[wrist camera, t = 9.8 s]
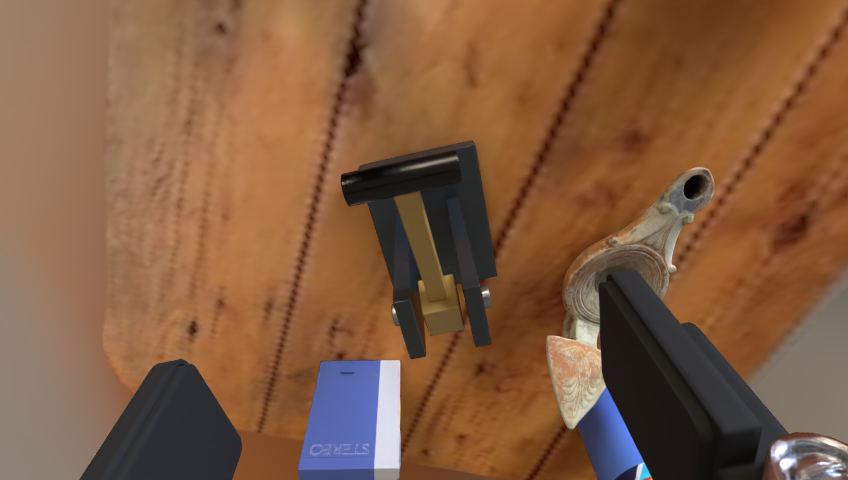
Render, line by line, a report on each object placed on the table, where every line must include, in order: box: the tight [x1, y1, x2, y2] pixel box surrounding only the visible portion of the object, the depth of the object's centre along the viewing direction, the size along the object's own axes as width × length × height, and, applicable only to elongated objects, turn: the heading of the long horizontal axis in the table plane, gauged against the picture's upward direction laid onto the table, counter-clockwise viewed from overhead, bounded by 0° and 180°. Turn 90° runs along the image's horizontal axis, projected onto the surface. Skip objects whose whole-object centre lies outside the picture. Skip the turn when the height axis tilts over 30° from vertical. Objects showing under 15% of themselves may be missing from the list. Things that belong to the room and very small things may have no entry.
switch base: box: [358, 140, 497, 359], centre depth 32 cm, size 12×9×13 cm
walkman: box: [298, 360, 401, 480], centre depth 41 cm, size 8×3×12 cm, turn 88°
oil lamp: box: [546, 167, 714, 430], centre depth 37 cm, size 9×21×10 cm, turn 153°
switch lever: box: [341, 149, 465, 336], centre depth 24 cm, size 13×5×2 cm, turn 13°
